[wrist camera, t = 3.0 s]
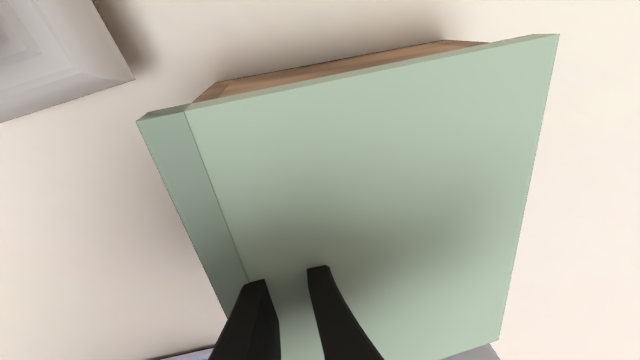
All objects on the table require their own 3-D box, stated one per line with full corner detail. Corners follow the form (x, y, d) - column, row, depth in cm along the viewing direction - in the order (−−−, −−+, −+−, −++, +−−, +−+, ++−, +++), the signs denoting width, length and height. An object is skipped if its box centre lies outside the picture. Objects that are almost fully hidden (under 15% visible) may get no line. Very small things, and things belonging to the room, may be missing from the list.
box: (278, 285, 18) (279, 366, 14) (215, 82, 12) (181, 111, 8) (437, 250, 18) (486, 318, 14) (444, 39, 13) (531, 45, 8)
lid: (271, 393, 13) (272, 416, 12) (148, 112, 7) (135, 121, 6) (485, 323, 14) (499, 340, 13) (532, 34, 8) (561, 34, 7)
